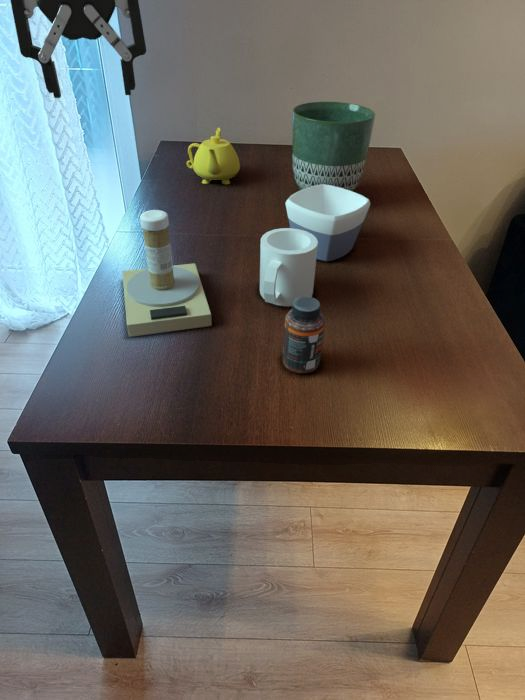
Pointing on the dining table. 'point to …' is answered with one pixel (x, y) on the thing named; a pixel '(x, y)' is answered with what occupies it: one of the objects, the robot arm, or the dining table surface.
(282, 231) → the mug
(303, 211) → the bowl
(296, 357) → the supplement bottle
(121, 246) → the dining table surface
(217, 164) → the teapot
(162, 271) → the sprinkles bottle
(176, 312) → the scale
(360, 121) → the planter
